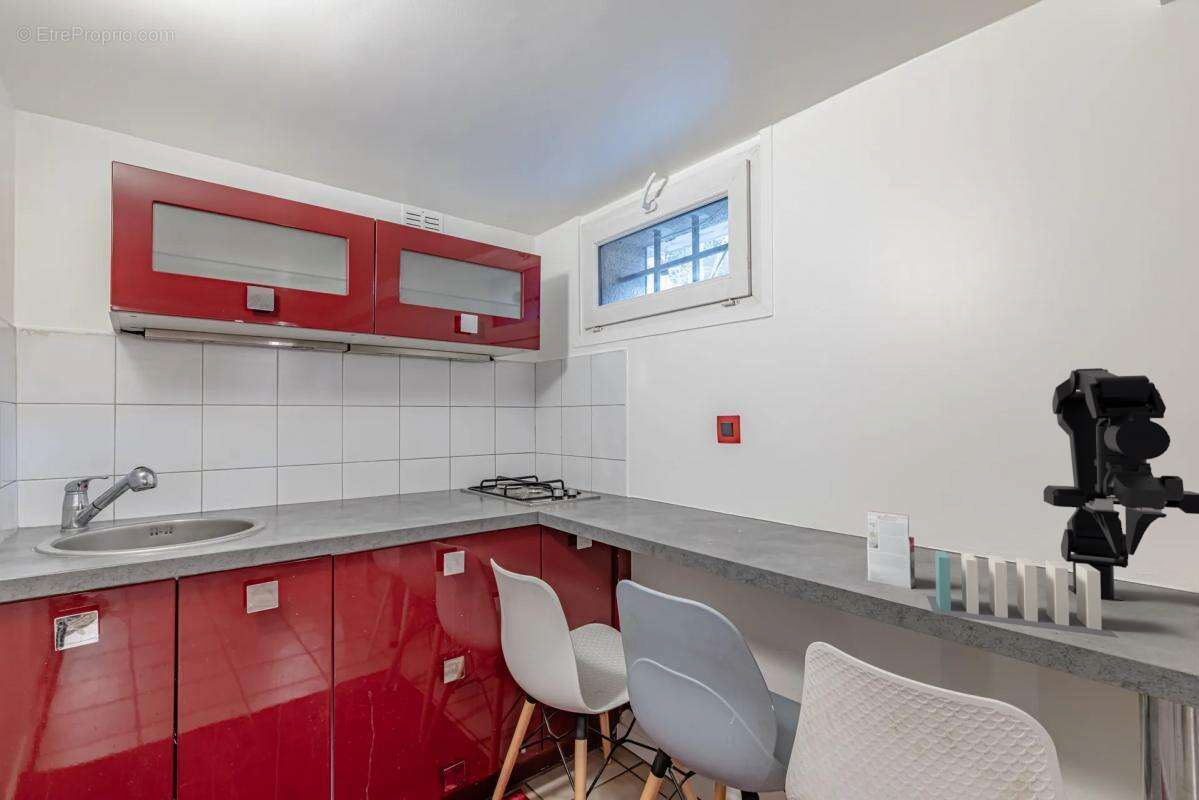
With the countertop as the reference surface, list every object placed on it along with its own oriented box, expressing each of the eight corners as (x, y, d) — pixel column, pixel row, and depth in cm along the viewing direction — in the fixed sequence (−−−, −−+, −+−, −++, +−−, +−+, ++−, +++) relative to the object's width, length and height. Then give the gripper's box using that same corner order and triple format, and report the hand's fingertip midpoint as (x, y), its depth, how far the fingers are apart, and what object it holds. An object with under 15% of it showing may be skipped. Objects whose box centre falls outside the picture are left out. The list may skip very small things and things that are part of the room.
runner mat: (926, 597, 102) (926, 595, 102) (1092, 617, 91) (1092, 614, 91) (933, 615, 92) (933, 613, 92) (1119, 640, 82) (1119, 637, 82)
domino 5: (1056, 624, 88) (1055, 567, 88) (1046, 614, 92) (1045, 560, 92) (1069, 625, 87) (1067, 568, 87) (1058, 615, 91) (1057, 561, 91)
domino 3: (996, 616, 91) (994, 562, 91) (989, 607, 95) (988, 555, 96) (1007, 618, 90) (1006, 563, 90) (1000, 608, 95) (999, 556, 95)
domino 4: (1025, 620, 89) (1024, 564, 89) (1017, 610, 94) (1016, 557, 94) (1037, 621, 89) (1036, 566, 89) (1029, 611, 93) (1027, 558, 93)
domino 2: (967, 613, 93) (966, 559, 93) (962, 603, 97) (961, 553, 97) (978, 614, 92) (977, 560, 92) (973, 605, 96) (972, 553, 97)
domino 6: (1088, 628, 86) (1086, 570, 86) (1077, 617, 90) (1075, 562, 90) (1101, 629, 85) (1100, 571, 85) (1089, 619, 90) (1088, 564, 90)
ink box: (872, 578, 113) (871, 508, 114) (916, 586, 108) (914, 512, 108) (867, 582, 111) (865, 510, 111) (911, 591, 105) (909, 515, 106)
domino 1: (939, 609, 94) (938, 557, 95) (936, 600, 99) (935, 550, 99) (950, 610, 94) (949, 558, 94) (946, 602, 98) (945, 551, 98)
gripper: (1064, 457, 83) (1067, 560, 83) (1235, 461, 75) (1239, 575, 75) (1041, 452, 93) (1043, 543, 93) (1190, 455, 85) (1193, 555, 85)
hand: (1123, 553), depth 86 cm, fingers closed
